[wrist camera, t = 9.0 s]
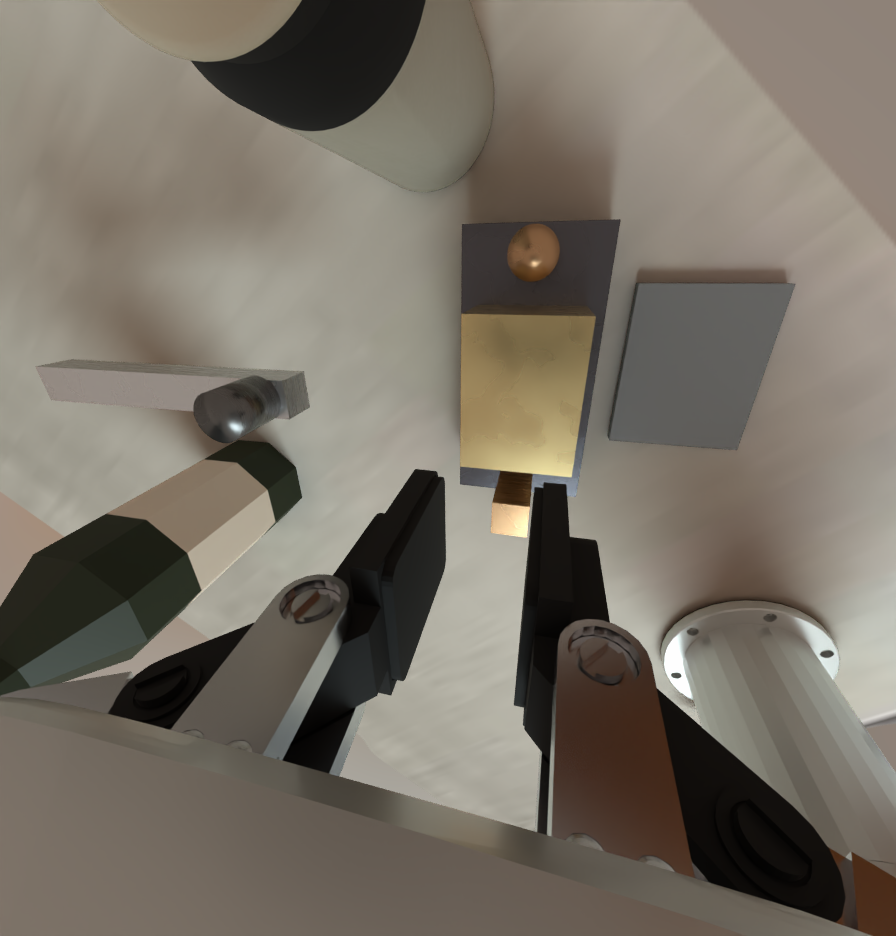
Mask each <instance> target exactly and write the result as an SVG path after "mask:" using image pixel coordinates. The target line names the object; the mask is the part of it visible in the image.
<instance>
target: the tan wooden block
mask: <svg viewBox="0 0 896 936" xmlns="http://www.w3.org/2000/svg"><path fill="white" fill-rule="evenodd" d="M595 319H596V316H595V315H594V314H593V312H592V311H591V310H590V309H589V308H588V306H547V305H477V306H475V307H473V308H471V309H470V310H468V311H466V312H464V313H462V314H461V427H460V467H470V468H481V469H491V470H501V471H511V472H522V473H532V474H542V475H552V476H562V477H572V471H573V464H574V458H575V451H576V444H577V438H578V431H579V425H580V418H581V411H582V405H583V398H584V391H585V385H586V378H587V372H588V365H589V358H590V352H591V345H592V338H593V332H594V325H595Z"/></svg>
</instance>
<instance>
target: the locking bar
mask: <svg viewBox="0 0 896 936" xmlns="http://www.w3.org/2000/svg"><path fill="white" fill-rule="evenodd" d="M35 367H36V369H37V371H38V373H39V375H40V377H41V380H42V382H43V384H44V386H45V388H46V390H47V392H48V394H49V396H50V399H51V400H56V401H69V402H81V403H94V404H106V405H119V406H131V407H144V408H156V409H169V410H181V411H194V416H195V419H196V421H197V423H198V425H199V426H200V428H201V429H202V430H203V431H204V432H205V433H206V434H207V435H208V436H209V437H211V438H212V439H214V440H216V441H218V442H222V443H230V442H233V441H235V440H237V439H239V438H240V437H242V436H244V435H246V434H248V433H249V432H251V431H253V430H255V429H257V428H258V427H260V426H262V425H264V424H266V423H267V422H269V421H271V420H273V419H274V418H281V419H291V418H292V417H294V416H296V415H297V414H299V413H301V412H303V411H304V410H306V409H308V408H309V407H310V405H309V399H308V393H307V387H306V381H305V376H304V371H285V370H266V369H247V368H228V367H209V366H190V365H171V364H151V363H132V362H113V361H94V360H75V359H71V360H66V361H61V362H55V363H50V364H45V365H40V366H35Z"/></svg>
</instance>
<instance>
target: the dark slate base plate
mask: <svg viewBox="0 0 896 936" xmlns="http://www.w3.org/2000/svg"><path fill="white" fill-rule="evenodd" d="M619 226H620V220H588V221H553V222H519V223H485V224H462V307H461V314H462V313H464V312H466V311H468V310H470V309H471V308H473V307H475V306H477V305H547V306H588V308H589V309H590V310H591V311H592V312H593V314H594V315H595V316H596V319H595V325H594V332H593V338H592V345H591V352H590V358H589V365H588V372H587V378H586V385H585V391H584V398H583V405H582V411H581V418H580V425H579V431H578V438H577V444H576V451H575V458H574V464H573V471H572V477H562V476H552V475H542V474H532V473H522V472H511V471H501V470H491V469H481V468H470V467H460V484H462V485H471V486H480V487H489V488H496V490H495V494H494V498H493V502H492V519H491V533H496V534H504V535H512V536H519V537H527V529H528V519H529V509H530V498H531V492H534V488H535V487H541V488H543V484H544V482H548V483H558V484H566V486H567V496H573V497H576V493H577V487H578V481H579V474H580V468H581V462H582V456H583V450H584V443H585V437H586V431H587V425H588V418H589V412H590V406H591V400H592V394H593V387H594V381H595V375H596V369H597V362H598V356H599V350H600V344H601V338H602V331H603V325H604V319H605V313H606V306H607V300H608V294H609V288H610V282H611V275H612V269H613V263H614V257H615V250H616V244H617V238H618V232H619Z"/></svg>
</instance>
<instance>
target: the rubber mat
mask: <svg viewBox="0 0 896 936" xmlns="http://www.w3.org/2000/svg"><path fill="white" fill-rule="evenodd" d="M794 287H795V284H792V283H636V288H635V293H634V299H633V304H632V309H631V315H630V320H629V325H628V331H627V336H626V341H625V347H624V352H623V357H622V363H621V368H620V373H619V379H618V384H617V389H616V395H615V400H614V405H613V411H612V416H611V421H610V427H609V432H608V438H609V440H612V441H625V442H638V443H651V444H664V445H676V446H689V447H702V448H715V449H728V450H737V449H738V446H739V443H740V440H741V437H742V434H743V432H744V429H745V426H746V423H747V420H748V417H749V415H750V412H751V409H752V406H753V403H754V400H755V397H756V395H757V392H758V389H759V386H760V383H761V380H762V378H763V375H764V372H765V369H766V366H767V363H768V360H769V358H770V355H771V352H772V349H773V346H774V343H775V341H776V338H777V335H778V332H779V329H780V326H781V324H782V321H783V318H784V315H785V312H786V309H787V306H788V304H789V301H790V298H791V295H792V292H793V289H794Z"/></svg>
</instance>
